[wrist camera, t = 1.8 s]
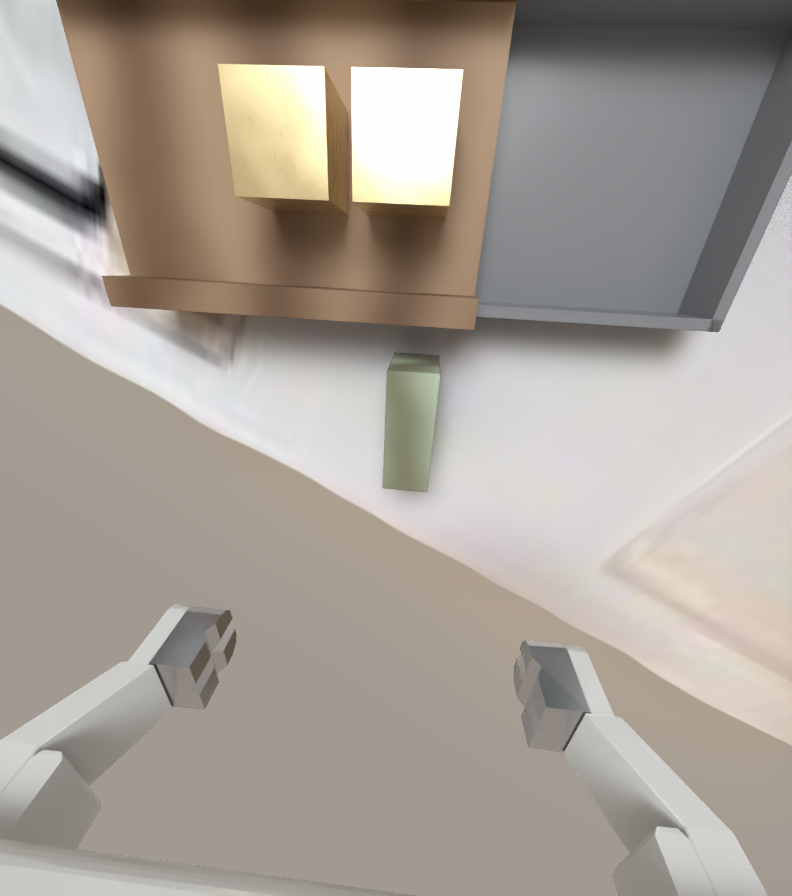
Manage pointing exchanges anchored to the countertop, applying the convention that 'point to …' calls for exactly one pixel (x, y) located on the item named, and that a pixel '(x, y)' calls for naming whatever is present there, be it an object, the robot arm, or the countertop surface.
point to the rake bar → (410, 420)
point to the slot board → (209, 166)
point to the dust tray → (636, 160)
